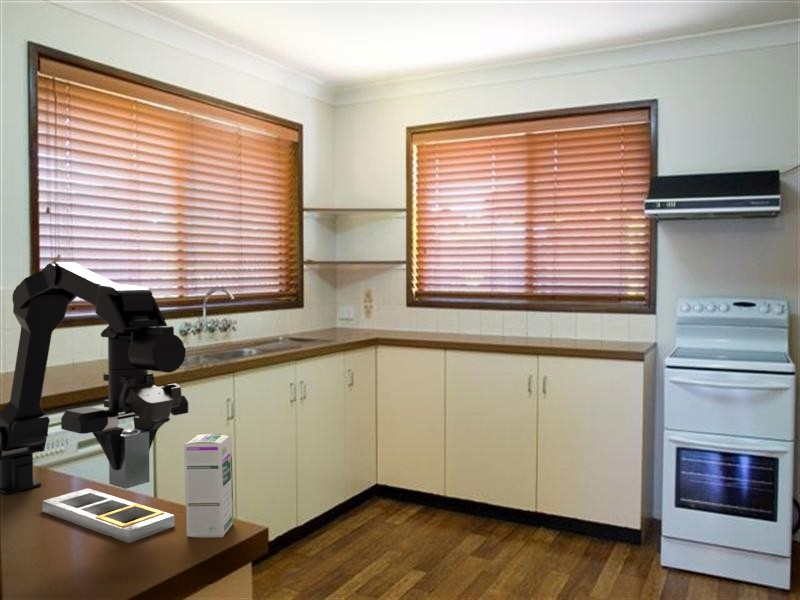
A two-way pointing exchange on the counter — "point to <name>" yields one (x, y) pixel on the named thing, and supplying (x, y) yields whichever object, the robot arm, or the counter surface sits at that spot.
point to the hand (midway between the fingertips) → (129, 466)
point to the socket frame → (109, 514)
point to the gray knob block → (132, 459)
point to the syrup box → (208, 485)
